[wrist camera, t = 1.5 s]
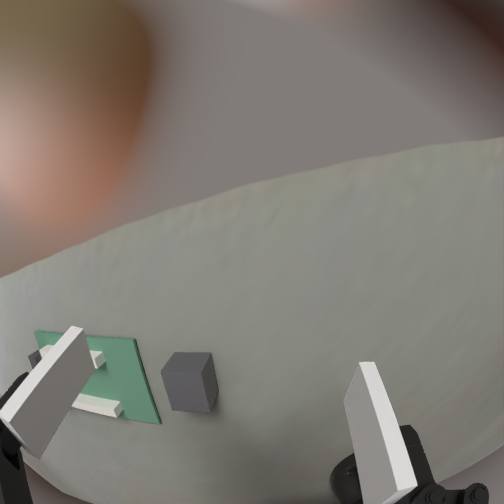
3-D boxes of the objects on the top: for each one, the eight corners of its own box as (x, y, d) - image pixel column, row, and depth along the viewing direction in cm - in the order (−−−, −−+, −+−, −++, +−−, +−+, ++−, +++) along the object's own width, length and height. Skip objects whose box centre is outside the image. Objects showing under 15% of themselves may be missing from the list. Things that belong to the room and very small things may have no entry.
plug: (218, 390, 35) (210, 412, 30) (182, 389, 36) (170, 410, 31) (211, 352, 35) (201, 373, 30) (173, 352, 35) (159, 371, 30)
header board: (160, 421, 37) (143, 453, 30) (63, 401, 40) (41, 421, 32) (134, 338, 35) (106, 364, 28) (36, 330, 38) (7, 346, 30)
